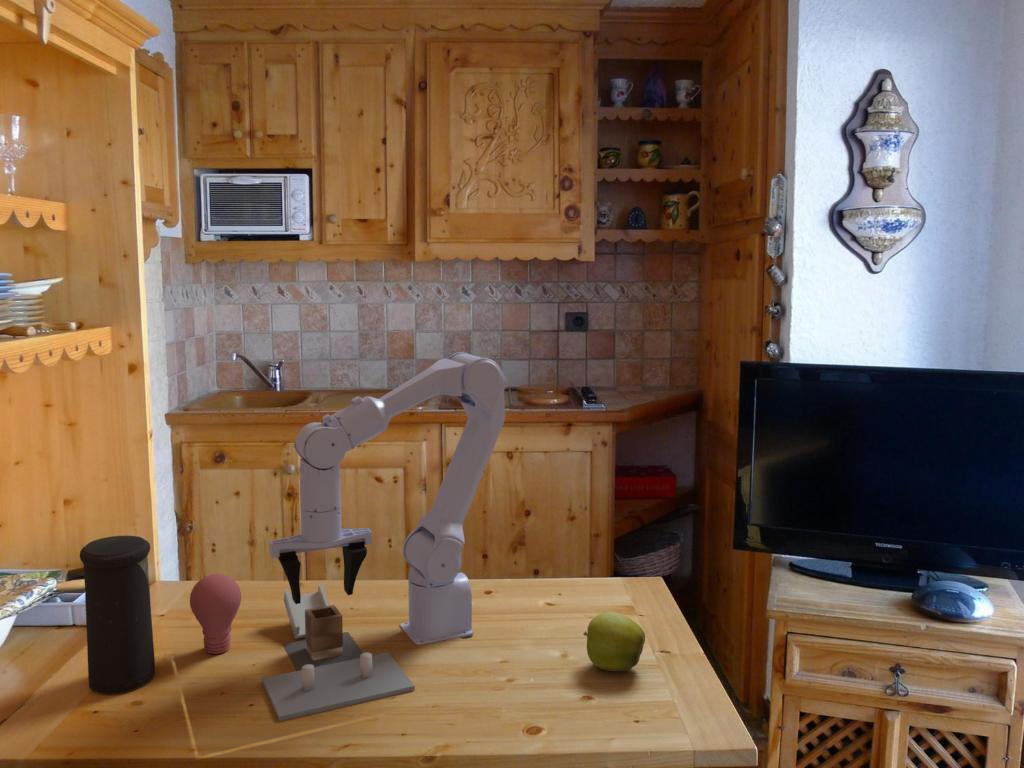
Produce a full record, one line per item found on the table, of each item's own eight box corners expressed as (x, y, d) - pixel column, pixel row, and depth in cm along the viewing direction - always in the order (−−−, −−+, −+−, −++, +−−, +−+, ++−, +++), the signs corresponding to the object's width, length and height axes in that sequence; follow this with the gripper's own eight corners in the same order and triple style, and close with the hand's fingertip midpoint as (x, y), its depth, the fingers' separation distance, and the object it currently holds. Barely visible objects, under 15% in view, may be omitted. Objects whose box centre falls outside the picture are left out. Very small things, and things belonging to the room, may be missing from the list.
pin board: (388, 658, 126) (387, 632, 126) (414, 692, 117) (414, 664, 116) (262, 684, 118) (261, 657, 118) (279, 723, 109) (278, 694, 108)
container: (171, 671, 122) (164, 534, 119) (123, 701, 114) (114, 555, 111) (122, 661, 125) (114, 527, 122) (72, 690, 116) (62, 547, 113)
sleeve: (334, 642, 131) (334, 604, 130) (343, 654, 127) (342, 615, 126) (305, 648, 129) (304, 609, 128) (313, 660, 125) (312, 621, 124)
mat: (347, 634, 134) (347, 631, 134) (367, 661, 126) (367, 658, 125) (282, 646, 130) (282, 644, 130) (298, 675, 121) (298, 673, 121)
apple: (588, 651, 130) (589, 600, 128) (648, 661, 127) (650, 609, 125) (574, 675, 122) (575, 621, 121) (637, 686, 119) (639, 631, 118)
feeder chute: (321, 613, 141) (320, 581, 140) (335, 633, 133) (334, 599, 132) (284, 620, 138) (283, 587, 137) (296, 641, 131) (295, 606, 130)
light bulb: (227, 666, 124) (224, 586, 122) (182, 661, 125) (178, 582, 123) (252, 644, 130) (249, 568, 129) (209, 640, 132) (205, 564, 130)
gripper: (361, 494, 131) (362, 579, 133) (263, 505, 125) (266, 595, 127) (376, 506, 125) (377, 596, 127) (274, 518, 118) (276, 613, 120)
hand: (322, 596), depth 126 cm, fingers open, 7 cm apart
